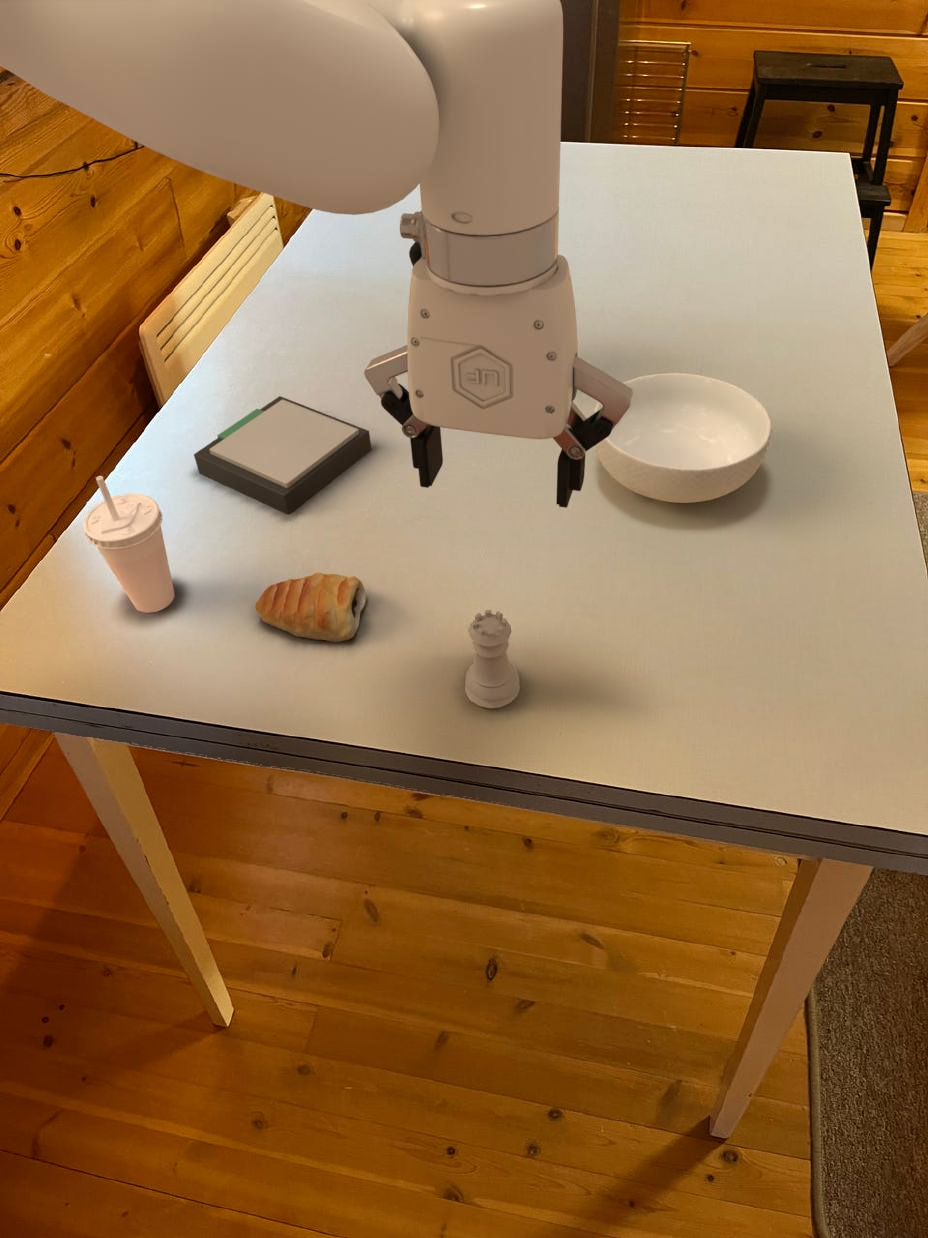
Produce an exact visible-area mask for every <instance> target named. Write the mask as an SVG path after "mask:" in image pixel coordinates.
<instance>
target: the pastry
mask: <svg viewBox="0 0 928 1238" xmlns="http://www.w3.org/2000/svg"><path fill="white" fill-rule="evenodd" d="M366 601H367V592H366V589H365V586H364V584H363V582H362V581H361V580H360V579H359V578H358V577H356V576H355V575H352V576H350V577H349V576H345V575H341V574H335V573H330V574H327V573H322V572H316V573H313V574H311V575H306V576H304V577H301V578H290V579H287V580H284V581H280V582H278V583H275V584H271V585H269V586H268V587H267V588H265V589H264V591H263V592H262V593H261V595H260V596H259V598H258V600H257V601H256V602H255V604H254V608H255V611H256V613H257V615H259V617H260V619H261V620H262V622H264V623H266V624H268V625H270V626H272V627H275V628H278V629H279V630H280V631H286V632H288V633H289V634H291V635H292V636H294V637H298V638H302V637H303V638H304V639H305V638H306V639H309V640H316V641H319V640H324V641H327V642H334V643H340V642H343V641H348V640H351V639H352V638H354V636H355V635H356V633H357V631H358V628H359V626H360V620H361V612H362V611H363V609H364V607H365V605H366Z"/></svg>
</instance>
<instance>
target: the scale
mask: <svg viewBox="0 0 928 1238" xmlns="http://www.w3.org/2000/svg"><path fill="white" fill-rule="evenodd" d="M370 436H371V435H370V431H369V430H368V429H365V428H364V427H363V428H362V427H359V426H358V425H355V424H352V423H350V422H347V421H345V420H342V419H340V418H337V417H334V416H332V415H330V414H327V413H324V412H321V411H320V410H316V409H314V408H311V407H309V406H306V405H304V404H302V403H299V402H296V401H293V400H291V399H288V398H286V397H283V396H281V395H279V396H277V397H276V398H275V399H273V400H272V401H270V402H269V403H267V404H266V405H264V406H263V407H261V408H260V409H259V408H256V409H254V410H253V411H251V412H249V414H247V415H245V416H244V417H242V418H241V419H240V420H238V421H236V422H234V423H233V424H232V425H230V426H228V428H226V429H225V430H222V431H221V432H220V433H219V434H217V438H216V439H214V440H213V441H211V442H210V443H208V444H207V445H205V446H203V447H202V448H201V449H200V450H198V451H196V452H195V453H193V457H194V460H195V464H196V467H197V470H198V473H199V474H201V475H203V476H205V477H207V478H209V479H212V480H214V481H216V482H218V483H220V484H222V485H224V486H226V487H229V488H230V489H233V490H236V491H237V492H239V493H242V494H244V495H246V496H247V497H250V498H252V499H254V500H257V501H258V502H261V503H263V504H264V505H268V506H269V507H271V508H274V509H275V510H278V511H280V512H282V513H285V514H287V515H290V514H291V513H293V512H294V511H295V510H296V509H298V508H299V507H300V506H301V505H303V504H304V503H306V502H307V501H308V500H310V499H311V498H312V497H313V496H315V494H317V493H319V491H321V490H322V489H323V488H324V487H326V486H327V485H329V484H330V483H331V482H332V481H334V480H335V479H336V478H337V477H339V476H340V475H341V474H342V473H344V472H345V471H346V470H347V469H349V468H350V467H352V465H354V464H355V463H356V462H358V461H359V460H360V459H361V458H363V457H364V456H366V454H368V453H369V452H371V451H372V443H371V437H370Z"/></svg>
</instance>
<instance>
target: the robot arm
mask: <svg viewBox="0 0 928 1238" xmlns="http://www.w3.org/2000/svg"><path fill="white" fill-rule="evenodd" d="M563 55H564V13H563V6H562V2H561V0H0V67H1V68H3V69H4V70H6V71H9V72H10V73H11V74H14V75H15V76H16V77H18V78H20V79H21V80H23V81H24V82H26V83H27V84H29V85H30V86H32V87H34V88H35V89H37V90H39V91H40V92H41V93H44V94H45V95H47V96H49V97H51V98H52V99H54V100H56V101H58V102H61V103H62V104H64V105H67V106H68V107H71V108H73V109H74V110H76V111H78V112H80V113H82V114H83V115H86V116H88V117H89V118H91V119H93V120H95V121H96V122H99V123H100V124H102V125H104V126H106V127H108V128H110V129H111V130H113V131H115V132H117V133H119V134H121V135H122V136H123V137H126V138H128V139H130V140H132V141H134V142H135V143H138V144H140V145H142V146H144V147H145V148H147V149H150V150H152V151H154V152H156V153H158V154H159V155H163V156H165V157H167V158H169V159H171V160H174V161H176V162H178V163H181V164H183V165H185V166H188V167H190V168H193V169H195V170H198V171H200V172H203V173H205V174H208V175H210V176H213V177H216V178H219V179H222V180H225V181H228V182H230V183H233V184H236V185H239V186H242V187H245V188H248V189H251V190H254V191H257V192H260V193H263V194H265V195H269V196H272V197H274V198H278V199H281V200H284V201H287V202H289V203H292V204H295V205H299V206H302V207H305V208H309V209H312V210H316V211H319V212H324V213H325V212H326V213H330V214H335V215H352V216H357V215H366V214H374V213H376V212H379V211H383V210H386V209H388V208H391V207H392V206H394V205H396V204H398V203H399V202H401V201H403V200H404V199H405V198H407V197H408V196H409V195H410V194H411V193H412V192H413V191H415V190H416V189H417V187H418V186H419V193H420V203H421V204H420V205H421V206H420V207H421V210H419V211H414V213H402V215H401V216H400V220H399V234H400V237H401V238H402V239H407V240H409V239H410V240H413V242H414V243H415V242H419V244H420V246H421V251H422V257H421V258H420V260H418V261H417V262H416V263H415V265H414V266H413V265H412V268H411V269H412V270H411V277H410V284H409V295H408V311H407V312H408V313H407V344H406V345H404V346H400V347H399V348H397V349H393V350H391V351H389V352H387V353H385V354H384V353H383V354H382V355H379V356H376V357H375V358H372V359H371V361H370V362H369V363H368V364H367V367H366V368H365V369H364V372H363V375H364V377H365V380H367V382H368V383H369V385H370V387H371V388H372V390H373V391H374V393H375V394H376V396H378V397H379V398H380V405H381V407H382V408H383V409H384V410H385V411H386V412H387V413H388V414H389V415H390V416H391V417H392V418H393V419H394V420H395V421H396V422H398V423H399V424H400V425H401V431H402V434H403V435H404V436H405V437H406V438H409V443H410V451H411V461H412V467H413V468H414V469H418V479H419V486H420V487H421V488H426V489H428V488H429V487H432V486H433V484H434V482H435V480H436V478H437V476H438V474H439V472H440V470H441V469H442V467H443V464H444V456H443V444H442V432H441V428H442V429H443V428H444V429H450V430H455V431H456V430H458V431H464V432H472V433H480V434H486V435H495V436H503V437H512V438H520V439H529V440H549V439H553V440H554V442H555V443H556V444H557V445H558V446H559V448H560V449H561V450H560V453H559V454H558V455H559V456H558V459H557V467H556V468H557V469H556V470H557V471H556V505H558V507H560V508H565V509H566V508H568V506H569V503H570V500H571V497H572V494H573V492H581V491H582V488H583V485H584V481H585V469H586V452H587V451H589V450H590V449H592V448H593V447H595V445H596V444H598V443H599V442H601V441H602V440H604V439H605V438H607V437H608V436H609V435H610V434H611V431H612V430H613V428H614V427H615V426H616V424H618V422H619V421H620V420H621V418H622V417H623V415H624V414H625V413H626V411H627V410H628V409H629V407H630V405H631V401H632V398H633V390H632V389H631V388H630V387H628V386H626V385H625V384H623V382H621V381H620V380H618V379H616V378H615V377H613V376H611V375H609V374H608V373H606V372H604V371H603V370H601V369H599V368H598V367H596V366H595V365H593V364H591V363H589V362H587V361H586V360H584V359H582V358H581V357H579V343H578V342H579V341H578V326H577V313H576V302H575V296H574V287H573V281H572V275H571V272H570V271H571V270H570V267H569V261H568V260H567V258H566V257H565V256H564V255H562V254H559V223H560V221H559V220H560V219H559V218H560V217H559V216H560V180H561V179H560V177H561V142H562V141H561V139H562V138H561V137H562V101H563V100H562V99H563V98H562V97H563V96H562V94H563V59H564V58H563V57H564V56H563ZM405 373H407V383H408V384H407V385H408V390H407V388H405V387H404V386H403V385H402V384H401V383H399V382H398V378H397V376H400V375H403V374H405ZM578 391H579V392H581V393H583V394H585V395H586V396H588V397H590V398H591V399H593V400H595V401H597V403H598V402H600V403H601V404H602V405H603V407H602V408H601V409H600V410H599V411H597V412H596V413H594V412H593V414H591V415H590V416H588V417H587V418H586V416H585V415H584V414H583V412H582V411H581V410H580V409H579V407H578V406H577V405H576V404H575V403H574V400H575V398H576V397H577V393H578Z"/></svg>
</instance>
